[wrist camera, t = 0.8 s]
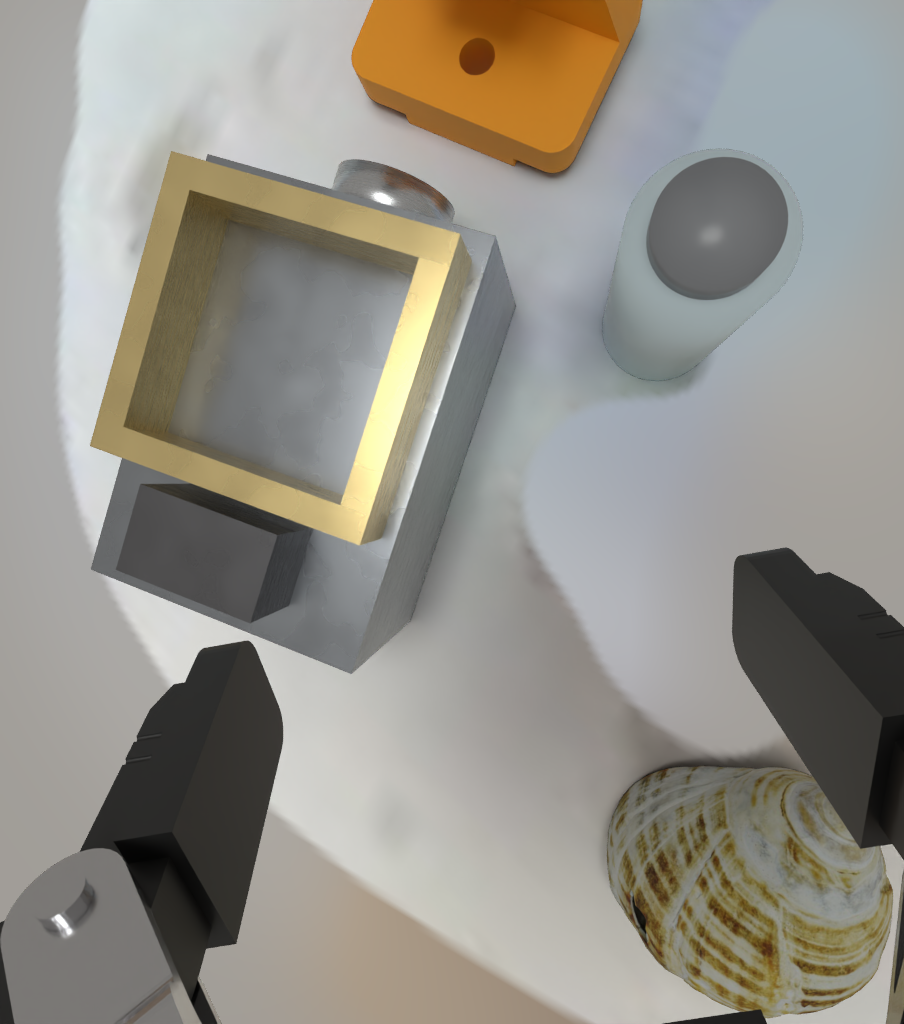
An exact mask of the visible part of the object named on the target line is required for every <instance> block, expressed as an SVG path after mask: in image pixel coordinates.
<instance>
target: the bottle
mask: <svg viewBox="0 0 904 1024" xmlns="http://www.w3.org/2000/svg"><path fill="white" fill-rule="evenodd" d="M802 239H803V221H802V213H801V209H800V206H799V202H798V200H797V198H796V195H795V193H794V192H793V190H792V188H791V186H790V185H789V183H788V182H787V180H786V179H785V178H784V177H783V176H782V174H781V173H779V172H778V171H777V170H776V169H775V168H774V167H773V166H771V165H770V164H768V163H767V162H765V161H764V160H762V159H760V158H758V157H756V156H754V155H751V154H748V153H745V152H742V151H737V150H731V149H708V150H702V151H697V152H693V153H690V154H687V155H684V156H682V157H680V158H678V159H676V160H674V161H672V162H670V163H669V164H667V165H665V166H664V167H662V168H661V169H660V170H659V171H657V172H656V173H655V174H654V175H652V176H651V178H650V179H649V180H648V181H647V182H646V183H645V184H644V185H643V186H642V188H641V189H640V190H639V192H638V193H637V195H636V196H635V198H634V200H633V202H632V203H631V206H630V208H629V210H628V213H627V215H626V219H625V223H624V226H623V231H622V235H621V240H620V244H619V249H618V253H617V258H616V262H615V267H614V271H613V276H612V280H611V285H610V290H609V294H608V299H607V303H606V308H605V312H604V317H603V323H602V332H603V339H604V343H605V346H606V349H607V351H608V353H609V355H610V356H611V358H612V359H613V360H614V362H615V363H616V364H617V365H618V366H619V367H620V368H621V369H623V370H624V371H625V372H627V373H629V374H631V375H632V376H635V377H637V378H640V379H645V380H651V381H662V380H669V379H672V378H676V377H678V376H681V375H683V374H685V373H687V372H688V371H690V370H691V369H693V368H694V367H695V366H697V365H698V364H699V363H700V362H701V361H702V360H703V359H704V358H705V357H707V356H708V355H709V354H710V353H711V352H712V351H713V350H714V349H716V348H717V347H718V346H719V345H720V344H721V343H722V342H723V341H725V340H726V339H727V338H728V337H729V336H730V335H731V334H732V333H733V332H735V331H736V330H737V329H738V328H739V327H740V326H741V325H742V324H744V323H745V322H746V321H747V320H748V319H749V318H750V317H751V316H753V315H754V314H755V313H756V312H757V311H758V310H759V309H760V308H761V307H763V306H764V305H765V304H766V303H767V302H768V301H769V300H770V299H771V298H772V297H773V296H774V295H775V294H776V293H777V292H779V290H780V289H781V288H782V287H783V285H784V284H785V283H786V281H787V280H788V278H789V277H790V275H791V273H792V271H793V269H794V267H795V265H796V263H797V260H798V257H799V254H800V251H801V246H802Z"/></svg>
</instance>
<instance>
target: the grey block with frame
mask: <svg viewBox="0 0 904 1024" xmlns="http://www.w3.org/2000/svg"><path fill="white" fill-rule="evenodd" d="M454 213H455V211H454V208H453V206H452V204H451V203H450V202H449V201H448V200H447V199H446V198H445V197H444V196H443V195H442V194H441V193H440V192H438V191H437V190H436V189H434V188H433V187H431V186H430V185H428V184H426V183H425V182H423V181H421V180H419V179H418V178H416V177H414V176H412V175H409V174H407V173H405V172H403V171H400V170H398V169H395V168H392V167H389V166H386V165H383V164H380V163H376V162H371V161H366V160H346V161H343V162H341V163H340V164H339V167H338V170H337V173H336V177H335V180H334V183H333V187H332V189H329V188H325V187H322V186H318V185H315V184H311V183H307V182H304V181H300V180H297V179H293V178H290V177H286V176H283V175H279V174H276V173H272V172H269V171H265V170H262V169H258V168H255V167H251V166H248V165H244V164H241V163H237V162H234V161H230V160H227V159H223V158H220V157H216V156H212V155H209V154H208V155H207V159H206V161H204V160H201V159H197V158H194V157H190V156H187V155H183V154H180V153H176V152H173V151H171V154H170V157H169V161H168V165H167V168H166V172H165V176H164V179H163V183H162V186H161V190H160V194H159V197H158V201H157V205H156V208H155V212H154V215H153V219H152V223H151V226H150V230H149V233H148V237H147V241H146V244H145V248H144V252H143V255H142V259H141V262H140V266H139V270H138V273H137V277H136V281H135V284H134V288H133V291H132V295H131V299H130V302H129V306H128V310H127V313H126V317H125V320H124V324H123V328H122V331H121V335H120V339H119V342H118V346H117V349H116V353H115V357H114V360H113V364H112V368H111V371H110V375H109V378H108V382H107V386H106V389H105V393H104V397H103V400H102V404H101V407H100V411H99V415H98V418H97V422H96V426H95V429H94V433H93V436H92V440H91V444H90V446H91V447H94V448H97V449H99V450H102V451H105V452H108V453H110V454H113V455H116V456H118V457H121V458H122V460H121V464H120V467H119V471H118V475H117V478H116V482H115V485H114V489H113V492H112V496H111V499H110V503H109V507H108V510H107V514H106V517H105V521H104V524H103V528H102V531H101V535H100V538H99V542H98V546H97V549H96V553H95V556H94V560H93V563H92V567H91V569H92V570H94V571H96V572H99V573H101V574H104V575H106V576H109V577H111V578H114V579H116V580H119V581H121V582H124V583H126V584H129V585H131V586H134V587H136V588H139V589H141V590H144V591H146V592H149V593H151V594H154V595H156V596H159V597H161V598H163V599H166V600H168V601H171V602H173V603H176V604H178V605H181V606H183V607H186V608H188V609H191V610H193V611H196V612H198V613H201V614H203V615H206V616H208V617H211V618H213V619H216V620H218V621H221V622H223V623H226V624H228V625H231V626H233V627H236V628H238V629H241V630H243V631H246V632H248V633H251V634H253V635H256V636H258V637H261V638H263V639H266V640H268V641H271V642H273V643H276V644H278V645H281V646H283V647H286V648H288V649H291V650H293V651H296V652H298V653H301V654H303V655H306V656H308V657H311V658H313V659H316V660H318V661H320V662H323V663H325V664H328V665H330V666H333V667H335V668H338V669H340V670H343V671H345V672H348V673H350V674H352V673H353V672H354V671H355V670H356V669H358V668H359V667H360V666H361V665H362V664H363V663H364V662H365V661H367V660H368V659H369V658H370V657H371V656H372V655H373V654H374V653H375V652H377V651H378V650H379V649H380V648H381V647H382V646H383V645H384V644H386V643H387V642H388V641H389V640H390V639H391V638H392V637H393V636H394V635H396V634H397V633H398V632H399V631H400V630H401V629H402V628H403V627H405V626H406V625H407V624H408V623H409V622H410V620H411V617H412V614H413V611H414V608H415V605H416V602H417V599H418V596H419V593H420V590H421V587H422V584H423V581H424V578H425V575H426V572H427V569H428V566H429V563H430V561H431V558H432V555H433V552H434V549H435V546H436V543H437V540H438V537H439V534H440V531H441V528H442V525H443V522H444V519H445V516H446V513H447V510H448V507H449V504H450V501H451V498H452V495H453V492H454V489H455V486H456V483H457V480H458V477H459V474H460V471H461V468H462V465H463V462H464V459H465V456H466V453H467V450H468V447H469V444H470V441H471V438H472V435H473V432H474V429H475V426H476V423H477V420H478V418H479V415H480V412H481V409H482V406H483V403H484V400H485V397H486V394H487V391H488V388H489V385H490V382H491V379H492V376H493V373H494V370H495V367H496V364H497V361H498V358H499V355H500V352H501V349H502V346H503V343H504V340H505V337H506V334H507V331H508V328H509V325H510V322H511V319H512V316H513V313H514V310H515V307H516V305H515V301H514V298H513V294H512V291H511V287H510V284H509V280H508V277H507V274H506V270H505V267H504V263H503V260H502V256H501V253H500V249H499V246H498V243H497V239H496V236H494V235H490V234H487V233H483V232H480V231H476V230H473V229H469V228H466V227H462V226H459V225H455V224H452V220H453V217H454Z"/></svg>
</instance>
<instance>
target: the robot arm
mask: <svg viewBox="0 0 904 1024" xmlns="http://www.w3.org/2000/svg"><path fill="white" fill-rule="evenodd" d="M733 581H734V582H733V620H732V623H733V624H732V635H733V642H734V647H735V651H736V654H737V657H738V660H739V662H740V664H741V666H742V668H743V670H744V672H745V673H746V675H747V676H748V678H749V679H750V681H751V683H752V684H753V686H754V687H755V689H756V690H757V692H758V693H759V695H760V696H761V698H762V699H763V701H764V702H765V704H766V705H767V707H768V708H769V710H770V712H771V713H772V715H773V716H774V718H775V719H776V721H777V722H778V724H779V725H780V727H781V728H782V730H783V731H784V733H785V734H786V736H787V738H788V739H789V741H790V742H791V744H792V745H793V747H794V748H795V750H796V751H797V753H798V754H799V756H800V757H801V759H802V760H803V762H804V764H805V765H806V767H807V768H808V770H809V771H810V773H811V774H812V776H813V777H814V779H815V780H816V782H817V783H818V785H819V786H820V788H821V790H822V791H823V793H824V794H825V796H826V797H827V799H828V800H829V802H830V803H831V805H832V806H833V808H834V809H835V811H836V812H837V814H838V816H839V817H840V819H841V820H842V822H843V823H844V825H845V826H846V828H847V829H848V831H849V832H850V834H851V835H852V837H853V838H854V840H855V842H856V843H857V845H858V846H859V848H860V849H863V848H869V847H876V846H882V845H888V844H893V845H894V847H895V848H896V850H897V851H898V852H899V854H900V855H901V857H902V858H903V859H904V627H903V626H902V625H901V624H900V623H899V622H898V621H897V620H896V619H895V618H893V617H892V616H891V615H887V613H886V610H885V609H884V608H883V607H882V606H881V605H880V604H879V603H877V602H876V601H875V600H874V599H873V598H872V597H871V596H870V595H869V594H868V593H867V592H866V591H865V590H864V589H862V588H860V587H858V586H856V585H854V584H852V583H850V582H848V581H846V580H844V579H842V578H840V577H838V576H836V575H834V574H832V573H830V572H828V573H822V574H817V575H816V574H815V573H814V572H813V571H812V570H811V569H810V568H809V567H808V566H807V565H806V564H805V563H804V562H803V561H802V560H801V559H800V558H799V557H798V556H797V555H796V553H795V552H793V551H792V550H791V549H789V548H780V549H775V550H769V551H763V552H758V553H752V554H747V555H740V556H738V557H737V558H736V560H735V564H734V580H733ZM282 744H283V722H282V716H281V712H280V708H279V705H278V703H277V700H276V698H275V696H274V693H273V691H272V688H271V686H270V683H269V681H268V678H267V676H266V673H265V671H264V668H263V666H262V663H261V661H260V658H259V656H258V653H257V651H256V649H255V647H254V645H253V644H252V643H251V642H250V641H242V642H236V643H231V644H225V645H219V646H214V647H208V648H203V649H202V650H201V651H200V652H199V653H198V655H197V657H196V659H195V662H194V664H193V666H192V668H191V670H190V673H189V675H188V677H187V679H186V682H185V683H179V684H174V685H173V686H172V687H171V688H170V689H169V690H168V691H167V692H166V693H165V694H164V695H163V696H162V697H161V698H160V700H159V701H158V702H157V703H156V704H155V705H154V706H153V707H152V708H151V709H150V711H149V713H148V715H147V717H146V719H145V721H144V723H143V725H142V727H141V729H140V731H139V733H138V735H137V742H134V743H133V745H132V747H131V749H130V751H129V753H128V755H127V757H126V765H122V767H121V769H120V771H119V773H118V775H117V777H116V779H115V781H114V783H113V785H112V787H111V789H110V792H109V794H108V796H107V798H106V800H105V802H104V804H103V806H102V808H101V810H100V812H99V814H98V816H97V818H96V820H95V822H94V824H93V826H92V828H91V830H90V832H89V834H88V836H87V838H86V840H85V842H84V844H83V846H82V848H81V850H80V852H78V853H75V854H73V855H71V856H69V857H67V858H64V859H63V860H61V861H59V862H58V863H56V864H54V865H53V866H51V867H50V868H49V869H47V870H46V871H44V872H43V873H42V874H41V875H40V876H39V877H38V878H36V879H35V880H34V881H33V882H32V883H31V884H30V885H29V886H28V887H27V888H26V889H25V890H24V892H23V893H22V894H21V895H20V896H19V898H18V899H17V900H16V902H15V903H14V905H13V907H12V908H11V910H10V912H9V913H8V915H7V917H6V919H5V921H3V922H1V923H0V1024H222V1023H221V1021H220V1019H219V1016H218V1014H217V1012H216V1010H215V1008H214V1006H213V1004H212V1001H211V999H210V997H209V995H208V992H207V990H206V988H205V986H204V984H203V983H202V981H201V979H200V977H199V972H200V969H201V965H202V961H203V958H204V954H205V950H206V949H207V948H213V947H219V946H225V945H232V944H236V942H237V938H238V934H239V929H240V925H241V921H242V917H243V912H244V908H245V904H246V899H247V895H248V891H249V886H250V882H251V878H252V874H253V869H254V865H255V861H256V856H257V852H258V848H259V844H260V839H261V835H262V831H263V827H264V822H265V818H266V814H267V809H268V805H269V801H270V797H271V792H272V788H273V784H274V779H275V775H276V771H277V767H278V762H279V758H280V754H281V749H282ZM664 1024H767V1023H766V1020H765V1018H764V1015H763V1013H762V1011H761V1009H758V1010H752V1011H745V1012H738V1013H731V1014H725V1015H718V1016H711V1017H704V1018H698V1019H691V1020H684V1021H677V1022H671V1023H664ZM886 1024H904V871H903V875H902V884H901V893H900V902H899V912H898V921H897V930H896V940H895V949H894V958H893V968H892V977H891V986H890V996H889V1005H888V1012H887V1020H886Z"/></svg>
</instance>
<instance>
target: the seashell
mask: <svg viewBox="0 0 904 1024" xmlns="http://www.w3.org/2000/svg"><path fill="white" fill-rule="evenodd" d="M607 865H608V874H609V881H610V887H611V890H612V892H613V894H614V896H615V898H616V900H617V902H618V903H619V905H620V906H621V907H622V909H623V910H624V912H625V914H626V916H627V917H628V919H629V920H630V922H631V923H632V924H633V926H634V927H635V929H636V930H637V932H638V933H639V935H640V937H641V939H642V941H643V942H644V944H645V946H646V948H647V949H648V950H649V951H650V953H651V954H652V955H653V956H654V958H655V959H656V960H657V961H658V962H659V963H660V964H661V965H662V966H663V967H664V968H665V969H666V970H668V971H669V972H671V973H673V974H675V975H677V976H679V977H680V978H682V979H684V981H685V982H686V983H687V984H689V985H690V986H691V987H692V988H694V989H695V990H697V991H699V992H701V993H703V994H705V995H706V996H708V997H709V998H711V999H712V1000H714V1001H716V1002H718V1003H720V1004H722V1005H725V1006H728V1007H730V1008H733V1009H735V1010H738V1011H741V1012H745V1011H752V1010H758V1009H761V1011H762V1013H763V1015H764V1018H773V1017H778V1016H781V1015H784V1014H804V1013H812V1012H817V1011H820V1010H823V1009H826V1008H829V1007H833V1006H835V1005H836V1004H838V1003H840V1002H841V1001H843V1000H845V999H847V998H849V997H851V996H852V995H854V994H855V993H856V992H858V991H859V990H861V989H862V988H863V987H864V986H865V985H866V984H867V983H868V982H869V981H870V980H871V979H872V977H873V976H874V974H875V973H876V971H877V969H878V966H879V962H880V958H881V955H882V953H883V950H884V948H885V945H886V942H887V939H888V936H889V933H890V926H891V919H892V907H893V890H892V887H891V884H890V882H889V880H888V878H887V875H886V865H885V861H884V858H883V854H882V851H881V848H880V846H876V847H869V848H863V849H860V848H859V846H858V845H857V843H856V842H855V840H854V838H853V837H852V835H851V834H850V832H849V831H848V829H847V828H846V826H845V825H844V823H843V822H842V820H841V819H840V817H839V816H838V814H837V812H836V811H835V809H834V808H833V806H832V805H831V803H830V802H829V800H828V799H827V797H826V796H825V794H824V793H823V791H822V790H821V788H820V786H819V785H818V783H817V782H816V780H815V779H814V777H813V776H810V775H808V774H805V773H803V772H799V771H796V770H793V769H788V768H784V767H766V768H761V769H753V768H727V767H718V766H716V767H712V766H697V767H675V768H669V769H664V770H661V771H658V772H655V773H652V774H650V775H647V776H646V777H644V778H643V779H641V780H640V781H638V782H636V783H635V784H634V785H633V786H632V787H631V788H630V789H629V790H628V791H627V792H626V793H625V794H624V795H623V797H622V799H621V800H620V802H619V805H618V807H617V809H616V811H615V813H614V815H613V817H612V820H611V823H610V826H609V832H608V844H607Z"/></svg>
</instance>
